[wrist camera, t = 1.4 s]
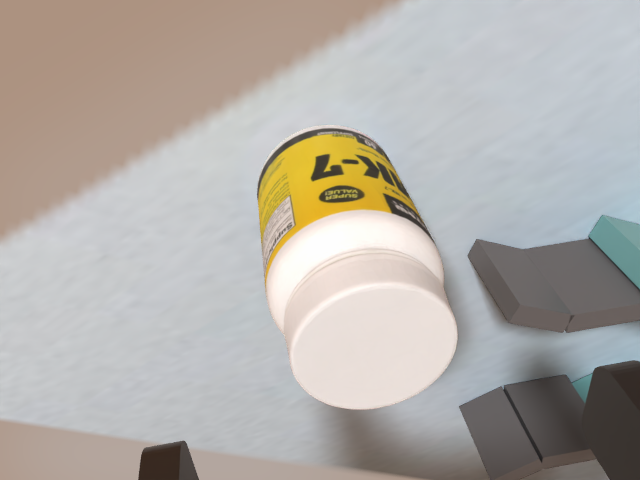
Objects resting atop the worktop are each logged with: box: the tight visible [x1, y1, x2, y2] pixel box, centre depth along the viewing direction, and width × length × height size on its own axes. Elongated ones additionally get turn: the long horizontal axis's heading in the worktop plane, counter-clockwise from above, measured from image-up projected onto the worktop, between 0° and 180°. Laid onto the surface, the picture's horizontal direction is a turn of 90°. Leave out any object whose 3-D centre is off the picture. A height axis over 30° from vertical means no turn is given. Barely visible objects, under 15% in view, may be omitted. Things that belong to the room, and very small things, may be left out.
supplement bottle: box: [257, 125, 458, 410], centre depth 17 cm, size 5×5×8 cm
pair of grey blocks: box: [459, 239, 640, 480], centre depth 24 cm, size 5×10×4 cm, turn 6°
